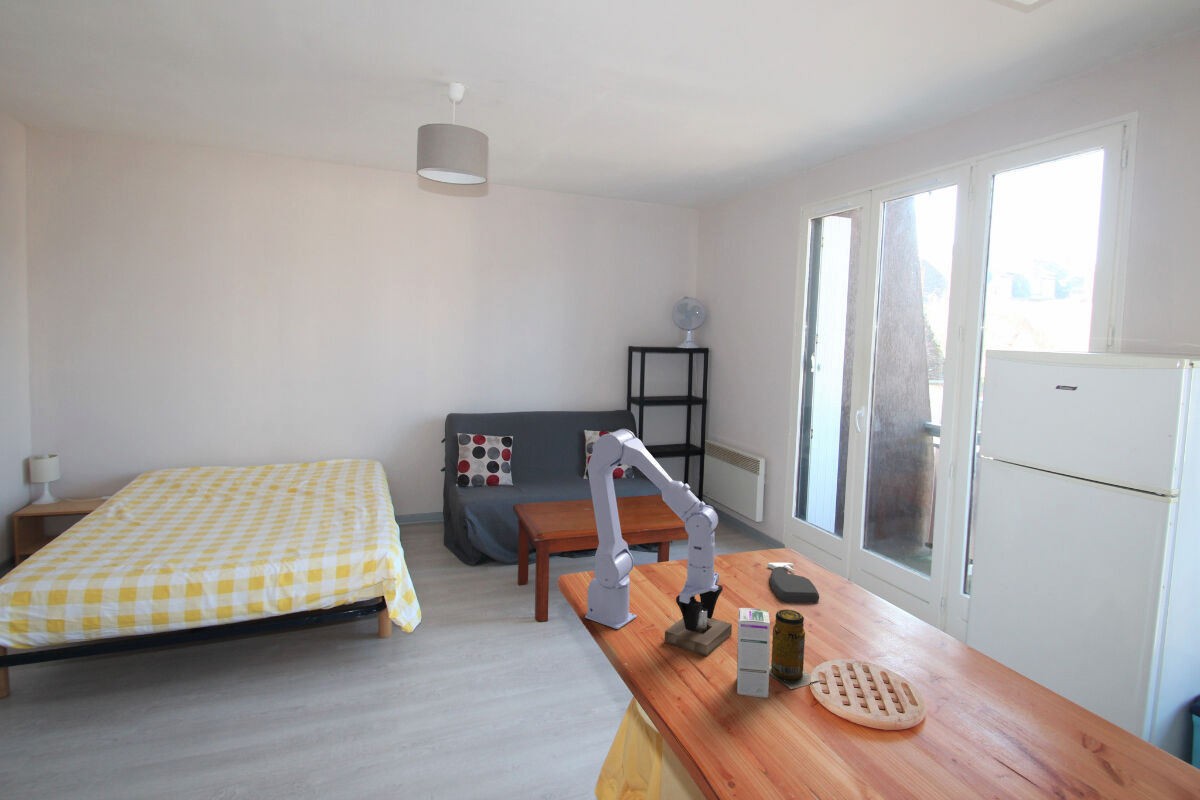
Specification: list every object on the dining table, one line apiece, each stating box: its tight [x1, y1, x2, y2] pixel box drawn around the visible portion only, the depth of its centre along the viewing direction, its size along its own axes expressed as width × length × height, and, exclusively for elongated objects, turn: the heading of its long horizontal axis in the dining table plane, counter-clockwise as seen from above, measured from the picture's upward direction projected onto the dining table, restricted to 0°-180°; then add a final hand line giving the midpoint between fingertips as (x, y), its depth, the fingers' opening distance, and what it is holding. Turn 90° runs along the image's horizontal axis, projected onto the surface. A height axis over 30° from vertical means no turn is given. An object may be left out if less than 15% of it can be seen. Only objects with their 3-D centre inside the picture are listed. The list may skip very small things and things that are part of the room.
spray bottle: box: [767, 562, 820, 604], centre depth 166 cm, size 3×11×25 cm
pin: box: [695, 607, 707, 634], centre depth 135 cm, size 3×3×6 cm
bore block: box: [664, 617, 733, 658], centre depth 135 cm, size 10×12×2 cm
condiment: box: [769, 609, 812, 690], centre depth 121 cm, size 7×8×12 cm
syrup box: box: [736, 607, 771, 699], centre depth 116 cm, size 6×6×14 cm
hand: (698, 623), depth 135 cm, fingers open, 7 cm apart
